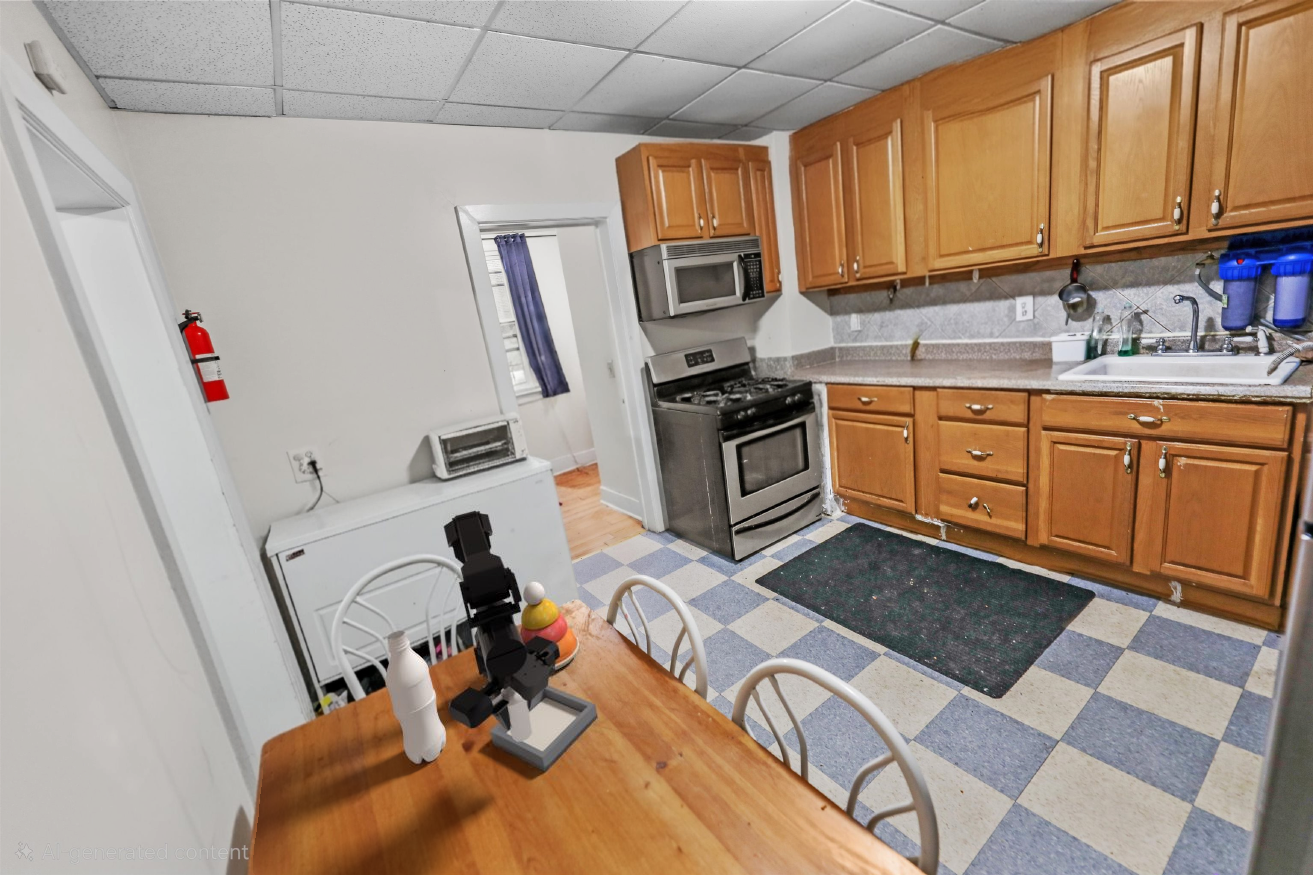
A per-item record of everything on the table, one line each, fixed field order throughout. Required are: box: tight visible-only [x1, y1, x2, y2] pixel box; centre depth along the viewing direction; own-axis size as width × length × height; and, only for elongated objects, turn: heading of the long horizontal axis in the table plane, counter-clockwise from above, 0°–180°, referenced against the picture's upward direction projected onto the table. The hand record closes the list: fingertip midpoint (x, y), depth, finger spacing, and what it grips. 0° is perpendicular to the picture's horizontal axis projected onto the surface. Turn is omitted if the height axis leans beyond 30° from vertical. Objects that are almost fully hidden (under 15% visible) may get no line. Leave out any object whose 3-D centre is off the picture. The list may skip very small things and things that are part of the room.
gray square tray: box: [489, 685, 599, 773], centre depth 102 cm, size 14×14×3 cm
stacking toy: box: [519, 581, 580, 670], centre depth 123 cm, size 14×14×20 cm
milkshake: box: [502, 686, 532, 742], centre depth 89 cm, size 4×5×10 cm
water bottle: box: [385, 629, 447, 765], centre depth 98 cm, size 7×7×25 cm
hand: (517, 720), depth 90 cm, fingers closed on milkshake, 4 cm apart
